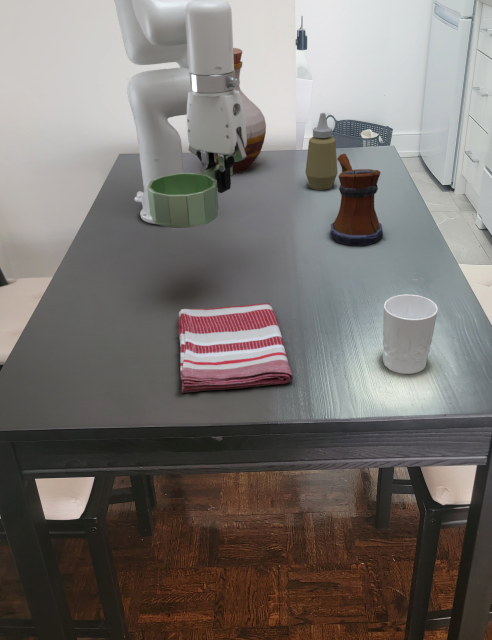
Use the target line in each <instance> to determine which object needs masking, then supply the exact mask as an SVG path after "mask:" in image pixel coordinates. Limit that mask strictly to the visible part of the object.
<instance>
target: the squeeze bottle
mask: <svg viewBox="0 0 492 640" xmlns="http://www.w3.org/2000/svg"><path fill="white" fill-rule="evenodd" d="M336 142H337V141H336V138H335V137H334V136H333V128H331V127H329V126H328V120H327V115H326V113H325V112H321V113H320V114H319V118H318V123H317V126H316V127H314V128H312V137H310V138H309V140H308V147H307V155H306V164H305V176H306V178H307V179H306V180H307V182H308V186H309V188H311V189H313V190H318V191H324V190H330V189H332V188H333V187H334V184H335V181H336V179H337V176H338V160H337V158H338V157H337V144H336Z"/></svg>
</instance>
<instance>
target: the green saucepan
mask: <svg viewBox="0 0 492 640" xmlns="http://www.w3.org/2000/svg"><path fill="white" fill-rule="evenodd" d="M217 171H219V164H218V165H216V166H214V167H212V168H210V169H208V170H206V169H205V170H203V171H202V172H199V173H198V172H184V173H176V174H170V175H165V176H161V177H159V178H156V179H154V180H152V181H150V183H149V185H148V186H147V190H148V199H149V207H150V215H151V216H152V220H153V221H154V222H155V223H157V224H156V225H159V226H161V227H166V228H170V229H171V228H172V229H189V228H195V227H200V226H203V225H208V224H209V223H211V222H213V221H214V220H215V219H217V217H218V215H219V195H218V193H219V192H218V189H217ZM230 175H231V177H233V175H234V173H233V168H232V167H231V168H230Z"/></svg>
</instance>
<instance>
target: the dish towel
mask: <svg viewBox="0 0 492 640" xmlns="http://www.w3.org/2000/svg"><path fill="white" fill-rule="evenodd" d="M178 337H179V339H178V340H179V346H180V347H179V348H180V353H179V355H180V357H179V358H180V359H179V361H180V368H179V369H180V371H179V372H180V380H181V393H182V394H186V393H195V392H202V391H203V392H205V391H219V390H223V391H224V390H234V389H244V388H254V387H255V388H256V387H260V386H261V387H265V386H274V385H284V384H288V383H291V381H292V380H293V379H294V376H293V372H292V370H291V367H290V364H289V360H288V357H287V352H286V350H285V344H284V339H283V337H282V333H281V329H280V326H279V321H278V318H277V315H276V313H275V312H274V310H273V306H272V305H271V303H269V302H263V303H252V304H247V305H246V304H245V305H230V306H221V307H220V306H219V307H211V308H182V309H180V311H179V312H178Z"/></svg>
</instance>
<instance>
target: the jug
mask: <svg viewBox="0 0 492 640" xmlns="http://www.w3.org/2000/svg"><path fill="white" fill-rule="evenodd" d="M242 55H243V50H242V49H240V48H237V47H233V56H234V72H235V78H238V79H239V80H240V75H241V70H242V68H243V61H242ZM235 91H239V93H240V96H241V100H242V104H243V110H244V116H245V124H246V136H247V146H246V148H244V150H245V153H246V158H245V159H243V160H241V161H238V162H235V164H234V165H233V167H232V168H233V174H234V173H242V172H246V171H248V170H249V169H250V168H251V166H252V165H253V164H254V163H255V161H256V160H257V158H258V157H259V155H260V154H261V151H262V149H263V145H264V144H265V139H266V134H267V123H266V119H265V116H264V114H263V112H262V110H261V109H260V108H259V107H258V106H257V105H256V104H255V103H254V102H253V101H252V100H251V99H250V98H248V97H247V96H246V94H245V93H244V92H243V91H242V90H241V87H240V85H239V86H238V87H235ZM234 154H235V151H234V153H233V155H234ZM216 164H217V165H218V164H219V160H218V153H216Z"/></svg>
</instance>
